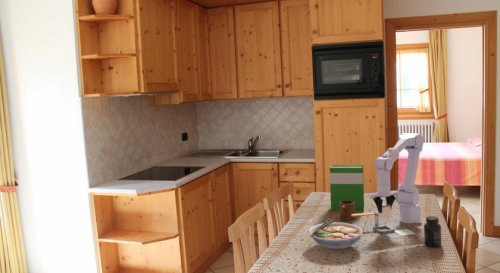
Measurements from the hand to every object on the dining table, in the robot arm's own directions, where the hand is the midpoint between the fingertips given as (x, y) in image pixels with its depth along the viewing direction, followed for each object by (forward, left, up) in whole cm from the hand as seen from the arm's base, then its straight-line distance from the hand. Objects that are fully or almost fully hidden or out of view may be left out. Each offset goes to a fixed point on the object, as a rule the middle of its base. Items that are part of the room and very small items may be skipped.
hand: (384, 212), depth 208 cm
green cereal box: (-3, -42, -10) cm, 44 cm away
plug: (0, 0, -2) cm, 2 cm away
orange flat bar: (+6, -7, -3) cm, 10 cm away
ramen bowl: (+28, +8, -10) cm, 31 cm away
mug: (+8, -22, -10) cm, 26 cm away
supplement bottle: (-10, +22, -10) cm, 26 cm away
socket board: (-2, +1, -10) cm, 10 cm away
